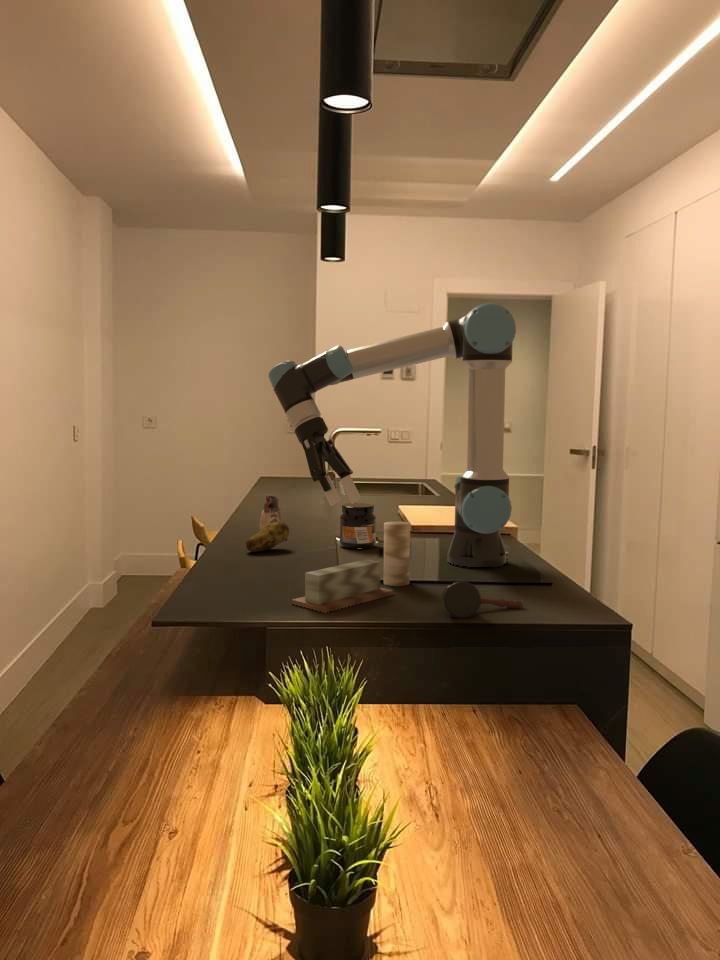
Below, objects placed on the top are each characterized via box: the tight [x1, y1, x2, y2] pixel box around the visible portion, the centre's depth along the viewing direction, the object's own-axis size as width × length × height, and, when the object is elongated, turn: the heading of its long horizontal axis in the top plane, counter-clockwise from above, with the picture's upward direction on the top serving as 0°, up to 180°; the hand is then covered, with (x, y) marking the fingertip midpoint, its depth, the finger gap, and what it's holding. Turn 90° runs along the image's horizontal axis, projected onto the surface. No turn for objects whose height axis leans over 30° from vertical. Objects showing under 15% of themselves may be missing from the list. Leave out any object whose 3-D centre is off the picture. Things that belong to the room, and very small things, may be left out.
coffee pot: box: [441, 580, 524, 620], centre depth 170 cm, size 8×18×8 cm
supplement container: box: [338, 502, 377, 550], centre depth 239 cm, size 10×10×12 cm
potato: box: [245, 521, 290, 553], centre depth 232 cm, size 8×13×8 cm, turn 112°
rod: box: [383, 521, 411, 587], centre depth 194 cm, size 6×6×14 cm
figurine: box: [258, 494, 282, 531], centre depth 262 cm, size 7×7×12 cm
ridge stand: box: [291, 559, 394, 614], centre depth 179 cm, size 21×10×7 cm, turn 138°
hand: (346, 502), depth 197 cm, fingers open, 13 cm apart
